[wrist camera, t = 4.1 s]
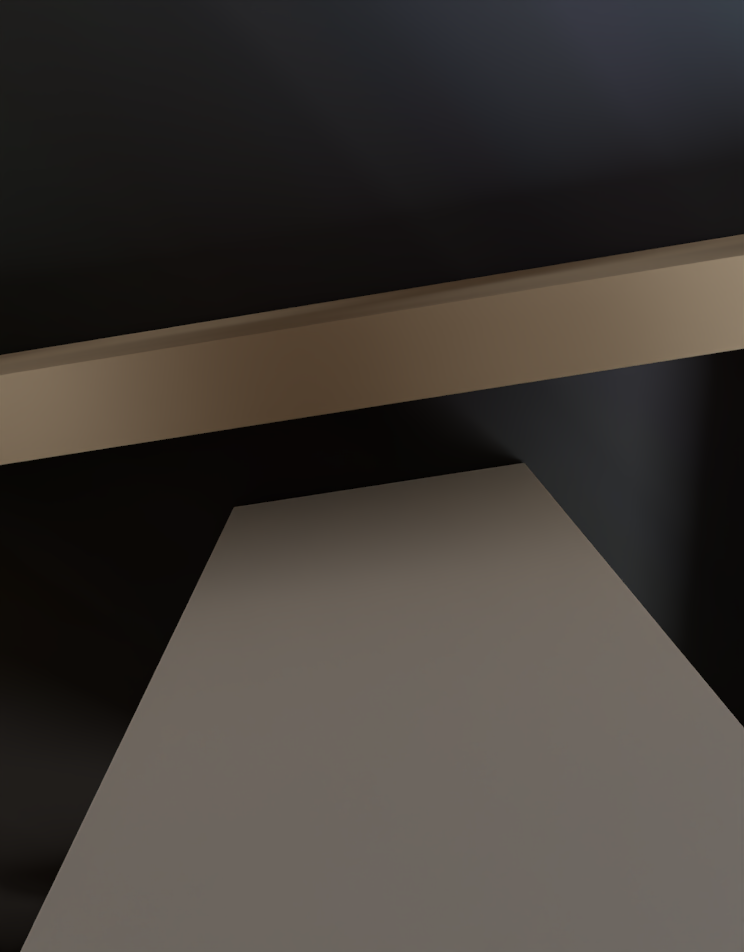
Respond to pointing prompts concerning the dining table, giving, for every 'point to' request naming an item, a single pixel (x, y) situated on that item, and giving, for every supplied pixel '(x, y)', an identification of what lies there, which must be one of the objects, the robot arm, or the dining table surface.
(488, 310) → the frame
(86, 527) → the dining table surface
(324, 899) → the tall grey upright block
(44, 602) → the dining table surface
